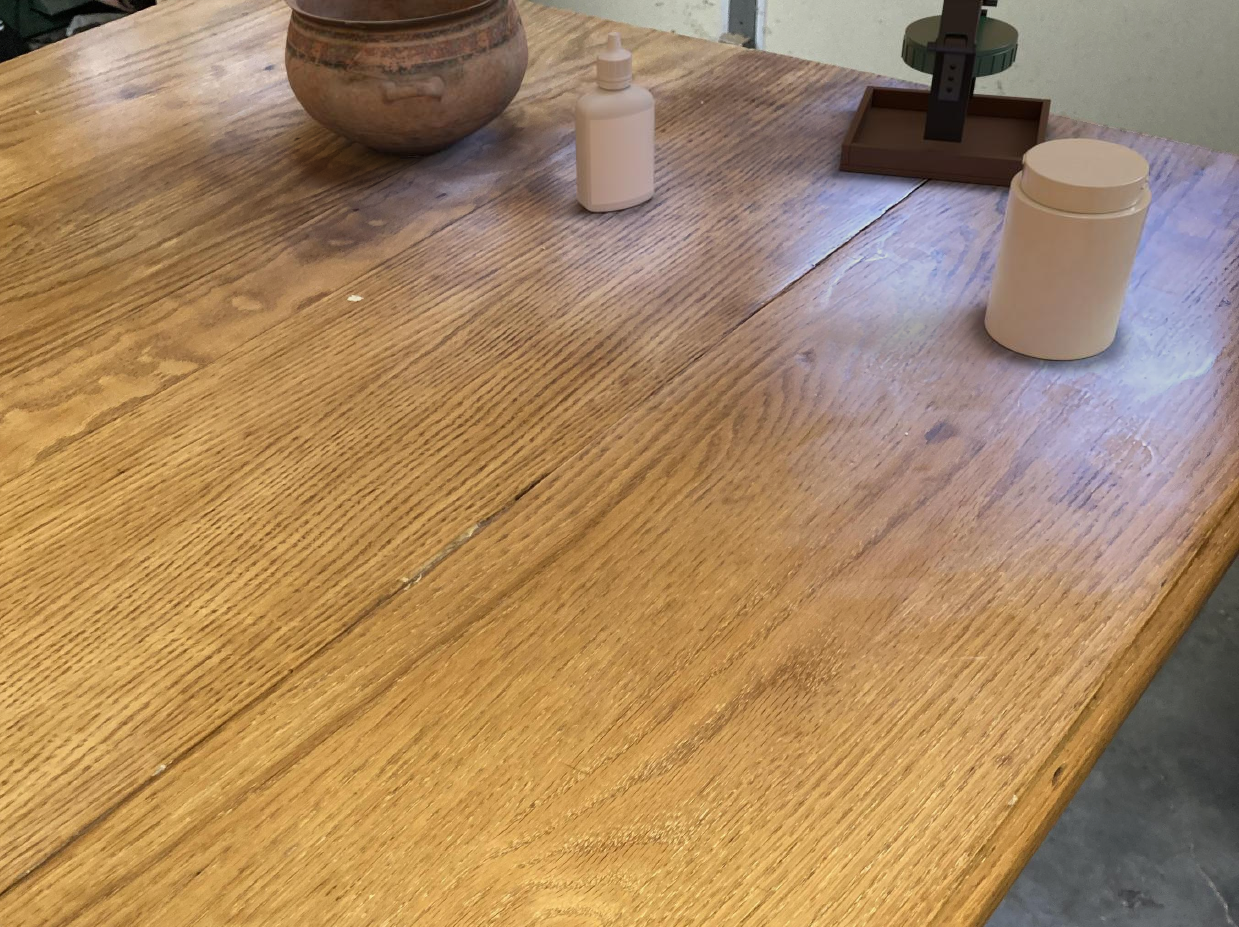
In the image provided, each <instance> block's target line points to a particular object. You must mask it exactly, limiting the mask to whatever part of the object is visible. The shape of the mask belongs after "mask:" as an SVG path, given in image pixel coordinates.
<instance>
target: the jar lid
mask: <svg viewBox="0 0 1239 927" xmlns="http://www.w3.org/2000/svg"><path fill="white" fill-rule="evenodd" d="M941 15H942V14H938V15H930V16H927V17H923V18H919V19H916V20H914V21H913V22H912V21H911V23H909V24H908V25H907V26H906V28H905V30H904V34H903V39H902V47H901V55H900V58H901V59H902V61H903V63H904V64H905V65H907V66H908V67H909V68H911V69H913V70H915V71H918V72H920V73H924V74H927V75H932V76H933V69H934V62H935V55H936V52H928V51H927V42H928V41H929V42H935V41H936V38H937V37H938V34H939V28H940V21H941ZM951 34H963V33H951ZM976 41H977V48H976V49H977V51H976V57H975V63H974V69H973V75H972V78H975V77H976V78H984V77H989V76H993V75H997V74H1000V73H1003V72H1005V71H1007V70H1009V69H1010V68H1012V66H1013V64H1014V63H1016V58H1017V53H1018V46H1019V43H1018V42H1019V32H1018V29H1016V27H1014V26H1013V24H1012V25H1011V24H1010V23H1008V22H1006V21H1004V20H1001V19H998V18H993V17H988V16H987V17H985V16H980V20H979V25H978V31H977V36H976Z"/></svg>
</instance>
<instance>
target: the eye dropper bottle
mask: <svg viewBox="0 0 1239 927" xmlns="http://www.w3.org/2000/svg"><path fill="white" fill-rule="evenodd" d="M596 85H597V86H595V87H594V88H592V89H590V90H589V91H588V92H586V93H585V94H584V95H582V96H581V97H580V98H579V99H578V101H576V104H575V107H574V135H575V136H574V137H575V170H576V171H575V172H576V198H577V201H578V203H579V204H580V205H581V206H583V207H584V209H586V210H587V211H588V212H592V213H606V212H614V211H619V210H625V209H629V208H632V207H635V206H638V205H640V204H643V203H644V202H647V201H649V200H650V199H651V198H652V197H653V195H654V193H655V165H656V164H655V159H656V158H655V152H656V150H655V149H656V145H655V144H656V142H655V141H656V136H655V135H656V132H655V131H656V127H655V126H656V124H655V123H656V114H655V112H656V111H655V110H656V109H655V100H654V96H653V94H652V93H651V91H649V90H648V89H647V88H645V87H643V86H642V85H639V84H637V83H633V54H632V52H630V51H629V50H628V49H625V48H623V46H622V42H621V36H620V33H619V31H618V32H617V31H612V32H609V33H608V37H607V42H606V47H605V48H604V49H603V50H601V51H598V53H597V54H596Z"/></svg>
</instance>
